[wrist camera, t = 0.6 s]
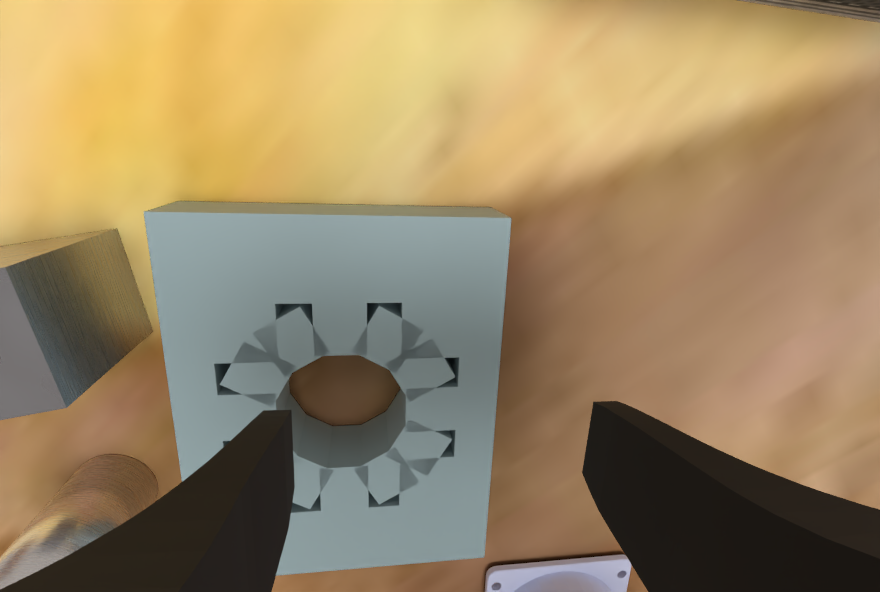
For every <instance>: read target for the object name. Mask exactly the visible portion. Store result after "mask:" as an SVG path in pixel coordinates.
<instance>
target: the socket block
mask: <svg viewBox="0 0 880 592" xmlns="http://www.w3.org/2000/svg"><path fill="white" fill-rule="evenodd" d="M144 218H145V225H146V232H147V239H148V246H149V253H150V260H151V267H152V274H153V281H154V288H155V295H156V302H157V309H158V316H159V323H160V330H161V337H162V344H163V351H164V358H165V365H166V372H167V379H168V386H169V393H170V400H171V407H172V414H173V421H174V428H175V435H176V442H177V449H178V456H179V463H180V470H181V478H182V482H183V481H184V480H185V479H186V478H188V477H189V476H190V475H191V474H193V473H194V472H195V471H196V470H198V469H199V468H200V467H201V466H203V465H204V464H205V463H206V462H207V461H209V460H210V459H211V458H212V457H213V456H214V455H215V454H217V453H218V452H219V451H220V450H221V449H222V448H223V447H224V446H225V445H227V444H228V443H229V442H230V441H231V440H232V439H233V438H234V437H235V436H236V435H237V434H238V433H239V432H241V431H242V430H243V429H244V428H245V427H246V426H247V425H248V424H249V423H250V422H251V421H252V420H253V419H254V418H255V417H257V416H258V415H259V414H260V413H261V412H262V411H263V410H291V411H292V435H293V459H294V483H295V488H294V495H293V502H292V509H291V516H290V522H289V528H288V532H287V536H286V540H285V544H284V547H283V551H282V555H281V558H280V562H279V566H278V569H277V573H276V576H277V575H288V574H300V573H311V572H323V571H334V570H345V569H357V568H368V567H380V566H391V565H403V564H414V563H426V562H437V561H448V560H460V559H471V558H483V557H484V555H485V542H486V530H487V517H488V505H489V492H490V480H491V467H492V455H493V442H494V430H495V417H496V405H497V393H498V380H499V368H500V355H501V343H502V330H503V318H504V305H505V293H506V280H507V268H508V255H509V243H510V230H511V217H509V216H507V215H505V214H503V213H501V212H499V211H497V210H495V209H493V208H491V207H452V206H403V205H353V204H303V203H254V202H204V201H177V202H174V203H170V204H167V205H164V206H161V207H157V208H154V209H151V210H148V211H144ZM337 355H360V356H362V357H364V358H366V359H368V360H370V361H372V362H374V363H376V364H378V365H380V366H382V367H384V368H386V369H388V370H390V372H391V373H392V375H393V377H394V378H395V380H396V381H397V383H398V384H399V386H400V387H401V389H400V390H399V392H398V393H397V395H396V397H395V398H394V400H393V401H392V403H391V404H390V406H389V407H388V409H387V411H386V412H384V413H382V414H380V415H378V416H377V417H375V418H373V419H371V420H369V421H367V422H366V423H364V424H362V425H347V426H331V425H329V424H326V423H324V422H322V421H320V420H317V419H315V418H313V417H311V416H308V415H306V414H305V412H304V411H303V410H302V408H301V407H300V406H299V404H298V403H297V401H296V400H295V399H294V397H293V396H292V395H291V393H290V386H289V377H290V376H291V374H292V373H293V372H295V371H296V370H298V369H300V368H302V367H304V366H306V365H307V364H309V363H311V362H313V361H315V360H316V359H318V358H320V357H322V356H337Z"/></svg>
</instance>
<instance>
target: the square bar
mask: <svg viewBox="0 0 880 592" xmlns="http://www.w3.org/2000/svg"><path fill="white" fill-rule="evenodd" d="M152 332H153V329H152V327H151V324H150V321H149V318H148V315H147V312H146V310H145V307H144V304H143V301H142V298H141V295H140V292H139V290H138V287H137V284H136V281H135V278H134V275H133V273H132V270H131V267H130V264H129V261H128V258H127V255H126V253H125V250H124V247H123V244H122V241H121V238H120V236H119V233H118V230H117V228H116V229H110V230H103V231H97V232H90V233H84V234H77V235H70V236H64V237H57V238H51V239H44V240H38V241H31V242H25V243H18V244H12V245H5V246H0V420H3V419H9V418H14V417H20V416H25V415H30V414H36V413H41V412H47V411H52V410H58V409H63V408H67V407H68V406H69V405H70V404H71V403H73V402H74V401H75V400H76V399H77V398H78V397H79V396H80V395H82V394H83V393H84V392H85V391H86V390H87V389H88V388H89V387H91V386H92V385H93V384H94V383H95V382H96V381H97V380H98V379H100V378H101V377H102V376H103V375H104V374H105V373H106V372H108V371H109V370H110V369H111V368H112V367H113V366H114V365H115V364H117V363H118V362H119V361H120V360H121V359H122V358H123V357H124V356H126V355H127V354H128V353H129V352H130V351H131V350H132V349H133V348H135V347H136V346H137V345H138V344H139V343H140V342H141V341H142V340H144V339H145V338H146V337H147V336H148V335H149V334H150V333H152Z"/></svg>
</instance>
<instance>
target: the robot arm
mask: <svg viewBox="0 0 880 592" xmlns="http://www.w3.org/2000/svg"><path fill="white" fill-rule="evenodd" d="M582 473H583V476H584V478H585V481H586V483H587V485H588V488H589V490H590V493H591V495H592V497H593V499H594V501H595V504H596V506H597V508H598V510H599V512H600V513H601V515H602V517H603V519H604V520H605V522H606V524H607V525H608V527H609V529H610V530H611V532H612V533H613V535H614V537H615V538H616V540H617V542H618V543H619V545H620V547H621V548H622V550H623V551H624V553H625V555H610V556H599V557H588V558H577V559H566V560H555V561H544V562H533V563H521V564H510V565H499V566H493V567H491V568H490V569H489V570H488V571H487V573H486V582H485V592H626V591H627V586H628V581H629V576H630V571H631V564H632V566H633V568H634V569H635V571H636V572H637V574H638V576H639V577H640V579H641V580H642V582H643V584H644V585H645V587H646V589H647V590H648V592H880V510H879V509H875V508H872V507H868V506H865V505H862V504H858V503H855V502H852V501H849V500H846V499H843V498H840V497H836V496H833V495H830V494H827V493H824V492H821V491H818V490H815V489H812V488H810V487H807V486H804V485H801V484H798V483H796V482H793V481H791V480H788V479H786V478H783V477H780V476H778V475H775V474H773V473H770V472H767V471H765V470H762V469H760V468H758V467H755V466H753V465H751V464H748V463H746V462H744V461H742V460H739V459H737V458H735V457H733V456H731V455H728V454H726V453H724V452H722V451H720V450H717V449H715V448H713V447H711V446H709V445H707V444H705V443H703V442H701V441H699V440H697V439H695V438H693V437H691V436H689V435H687V434H685V433H683V432H681V431H679V430H677V429H675V428H673V427H671V426H669V425H667V424H665V423H663V422H661V421H659V420H657V419H655V418H653V417H651V416H649V415H647V414H645V413H643V412H641V411H639V410H637V409H635V408H633V407H630V406H628V405H626V404H623V403H620V402H618V401H608V402H593V409H592V415H591V421H590V428H589V434H588V440H587V446H586V453H585V459H584V465H583V471H582ZM294 488H295V483H294V459H293V435H292V411H291V410H263V411H262V412H261V413H260V414H259V415H258V416H257V417H255V418H254V419H253V420H252V421H251V422H250V423H249V424H248V425H247V426H246V427H245V428H244V429H243V430H242V431H241V432H239V433H238V434H237V435H236V436H235V437H234V438H233V439H232V440H231V441H230V442H229V443H228V444H227V445H225V446H224V447H223V448H222V449H221V450H220V451H219V452H218V453H217V454H215V455H214V456H213V457H212V458H211V459H210V460H209V461H207V462H206V463H205V464H204V465H203V466H201V467H200V468H199V469H198V470H196V471H195V472H194V473H193V474H191V475H190V476H189V477H188V478H186V479H185V480H184V481H183V482H181V483H180V484H179V485H178V486H177V487H175V488H174V489H172V490H171V491H170V492H168V493H167V494H166V495H164V496H163V497H162V498H160V499H159V500H157V501H156V502H155V503H153V504H152V505H150V506H149V507H147V508H146V509H144V510H143V511H141V512H140V513H138V514H137V515H135V516H134V517H132V518H131V519H129V520H127V521H126V522H124V523H123V524H121V525H119V526H118V527H116V528H114V529H113V530H111V531H109V532H107V533H106V534H104V535H102V536H101V537H99V538H97V539H95V540H94V541H92V542H90V543H88V544H87V545H85V546H83V547H82V548H80V549H78V550H76V551H75V552H73V553H71V554H69V555H68V556H66V557H64V558H62V559H60V560H58V561H56V562H54V563H52V564H50V565H49V566H47V567H45V568H43V569H41V570H39V571H37V572H35V573H33V574H31V575H29V576H27V577H25V578H23V579H21V580H19V581H17V582H15V583H12V584H10V585H8V586H6V587H4V588H2V589H0V592H271V591H272V587H273V584H274V580H275V576H276V573H277V569H278V566H279V562H280V558H281V555H282V551H283V547H284V544H285V540H286V536H287V532H288V528H289V522H290V516H291V509H292V502H293V495H294ZM494 583H496V584H494Z"/></svg>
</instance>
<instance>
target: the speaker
mask: <svg viewBox="0 0 880 592" xmlns="http://www.w3.org/2000/svg"><path fill="white" fill-rule="evenodd" d="M739 1H745V2H751V3H758V4H764V5H771V6H777V7H783V8H790V9H796V10H803V11H809V12H816V13H822V14H828V15H835V16H841V17H848V18H854V19H861V20H867V21H873V22H880V0H739Z"/></svg>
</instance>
